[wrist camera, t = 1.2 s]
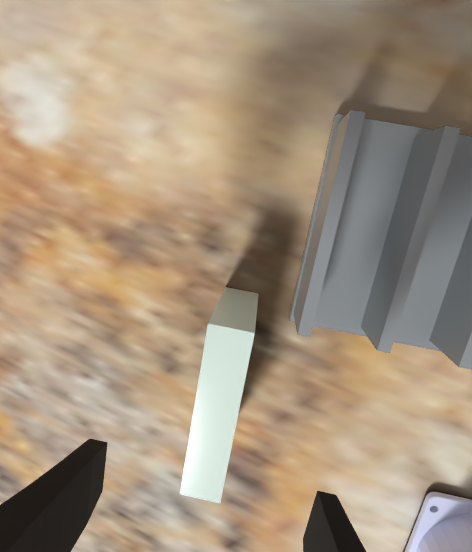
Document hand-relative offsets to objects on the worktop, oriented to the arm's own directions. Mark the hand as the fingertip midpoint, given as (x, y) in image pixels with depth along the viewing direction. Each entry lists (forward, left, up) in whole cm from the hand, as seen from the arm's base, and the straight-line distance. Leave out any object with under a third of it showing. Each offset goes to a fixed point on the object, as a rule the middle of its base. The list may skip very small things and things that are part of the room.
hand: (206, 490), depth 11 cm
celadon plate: (0, 0, -10) cm, 10 cm away
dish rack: (+9, -11, -10) cm, 17 cm away
